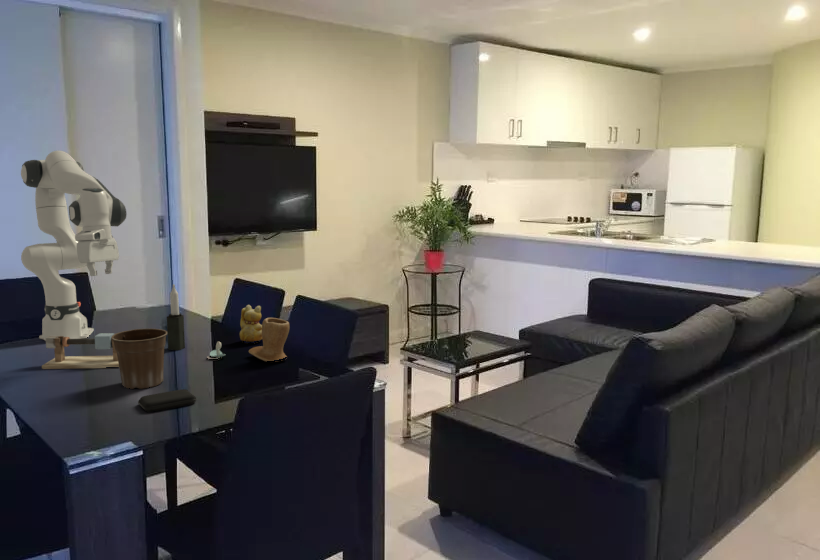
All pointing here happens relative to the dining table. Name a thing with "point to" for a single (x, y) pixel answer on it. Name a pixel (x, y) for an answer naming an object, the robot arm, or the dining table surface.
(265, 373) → the dining table surface
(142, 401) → the carrying case or bag
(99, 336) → the marker sleeve
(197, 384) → the dining table surface
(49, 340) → the cord stand
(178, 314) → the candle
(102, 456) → the dining table surface
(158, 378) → the plant pot
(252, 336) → the decorative figurine
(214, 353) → the pacifier
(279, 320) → the brown clay boot vase
